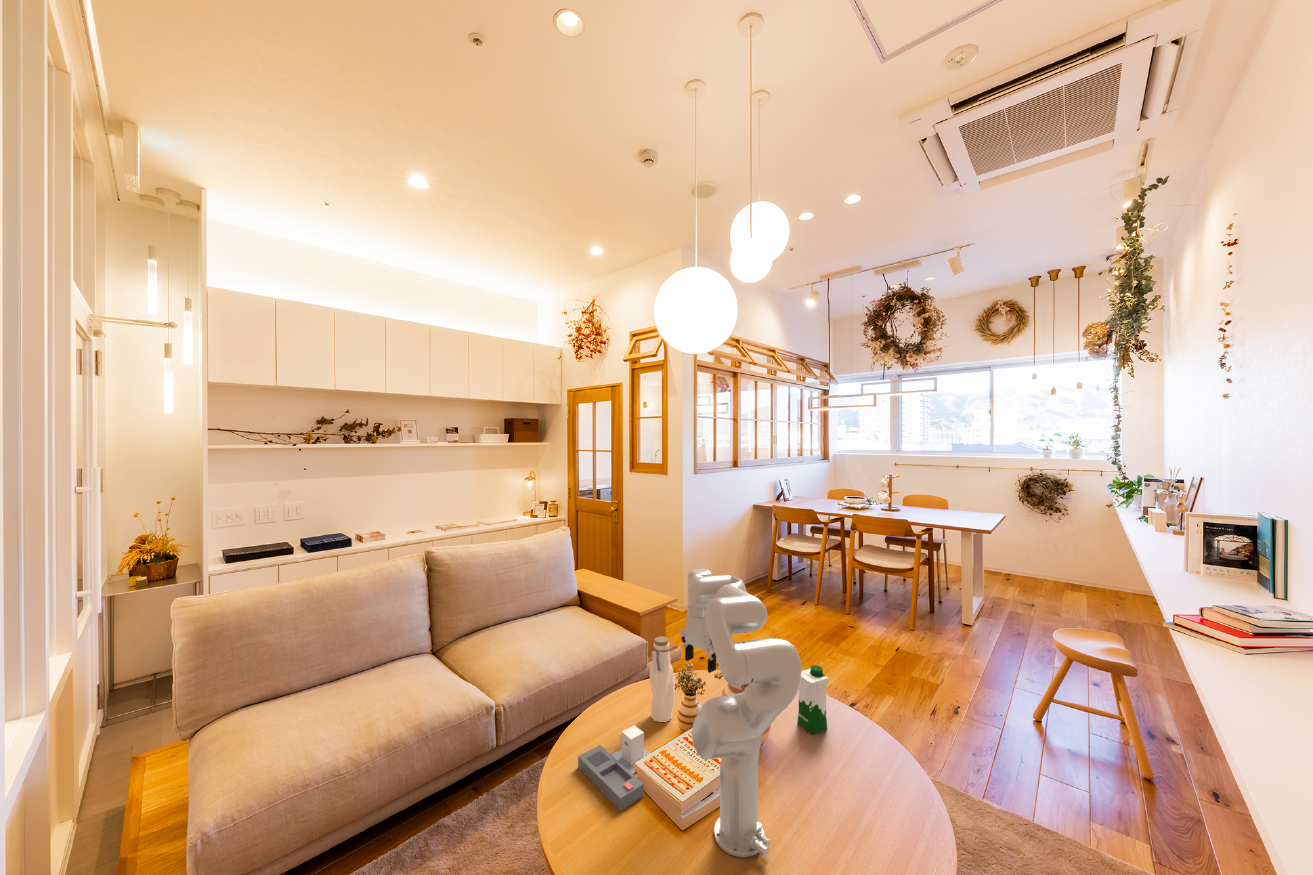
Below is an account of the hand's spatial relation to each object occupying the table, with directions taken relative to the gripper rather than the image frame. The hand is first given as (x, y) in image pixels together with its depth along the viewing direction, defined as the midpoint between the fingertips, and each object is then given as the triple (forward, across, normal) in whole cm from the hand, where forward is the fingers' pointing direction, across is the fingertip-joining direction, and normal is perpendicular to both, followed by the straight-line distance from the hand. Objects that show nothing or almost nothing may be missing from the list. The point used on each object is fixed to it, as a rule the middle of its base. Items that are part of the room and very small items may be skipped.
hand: (700, 665), depth 145 cm
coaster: (+30, +15, +15) cm, 37 cm away
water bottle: (+31, +25, -6) cm, 40 cm away
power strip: (+30, +12, +26) cm, 42 cm away
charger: (+30, +15, +15) cm, 37 cm away
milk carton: (+31, -13, -42) cm, 54 cm away
